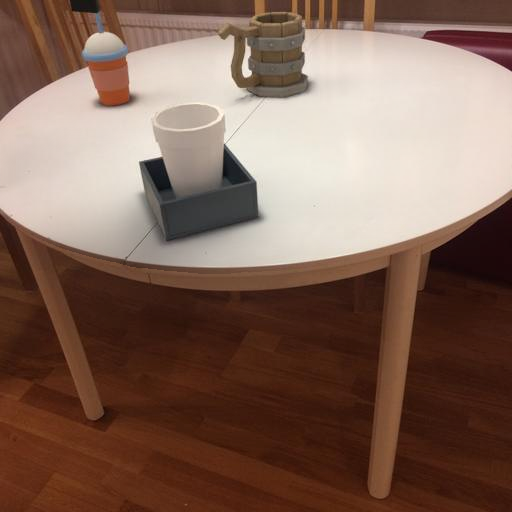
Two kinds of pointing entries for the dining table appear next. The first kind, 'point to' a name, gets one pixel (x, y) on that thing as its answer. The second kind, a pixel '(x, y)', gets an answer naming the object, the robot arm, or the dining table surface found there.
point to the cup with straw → (108, 66)
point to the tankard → (269, 54)
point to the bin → (200, 199)
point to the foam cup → (191, 146)
